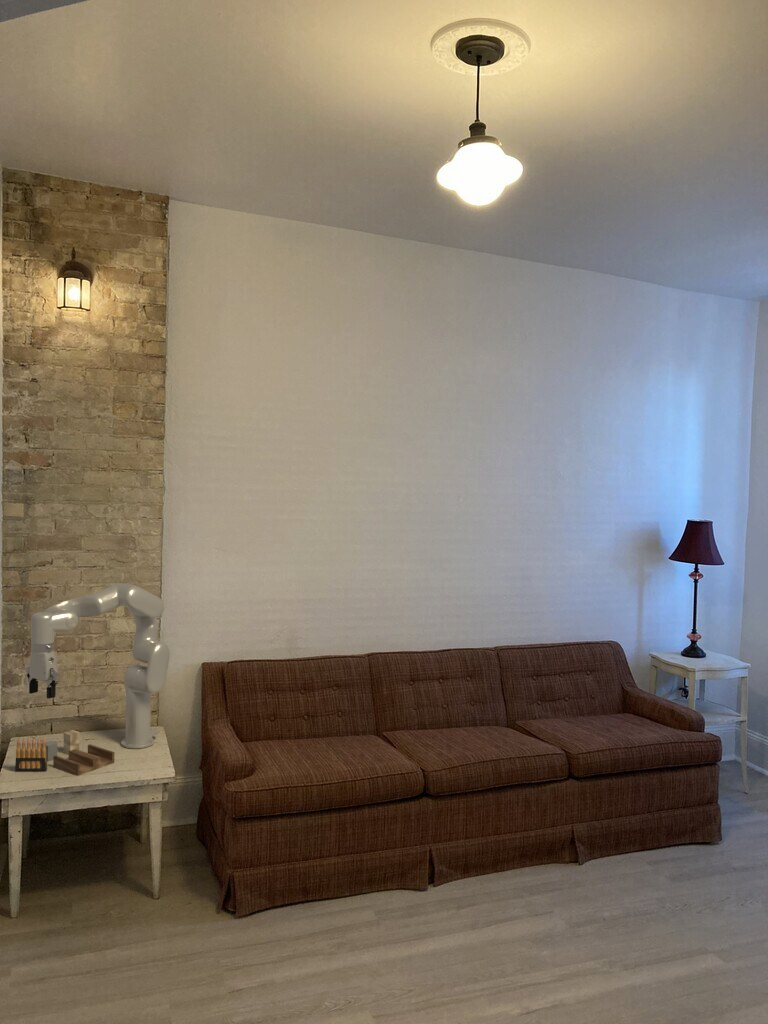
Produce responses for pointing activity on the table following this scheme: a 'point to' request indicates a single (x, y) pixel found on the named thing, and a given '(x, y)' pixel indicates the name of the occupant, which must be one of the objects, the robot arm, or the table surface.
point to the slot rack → (84, 760)
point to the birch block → (71, 741)
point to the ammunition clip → (31, 757)
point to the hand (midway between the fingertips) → (42, 695)
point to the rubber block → (50, 750)
